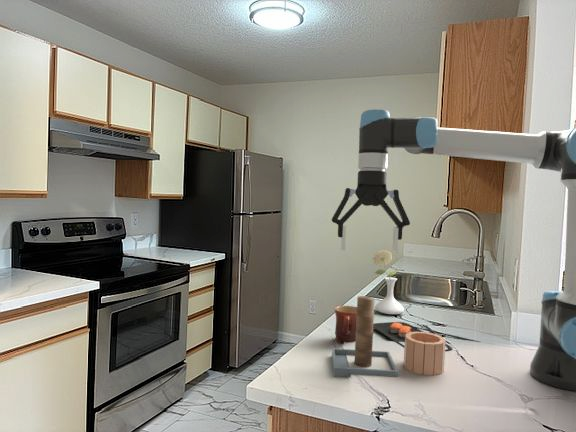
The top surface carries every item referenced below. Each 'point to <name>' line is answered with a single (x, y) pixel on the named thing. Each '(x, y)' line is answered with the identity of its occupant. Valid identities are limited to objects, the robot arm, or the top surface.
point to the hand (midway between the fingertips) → (368, 251)
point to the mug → (345, 323)
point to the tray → (343, 368)
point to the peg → (364, 331)
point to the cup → (424, 353)
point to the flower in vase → (388, 302)
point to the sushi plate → (405, 331)
